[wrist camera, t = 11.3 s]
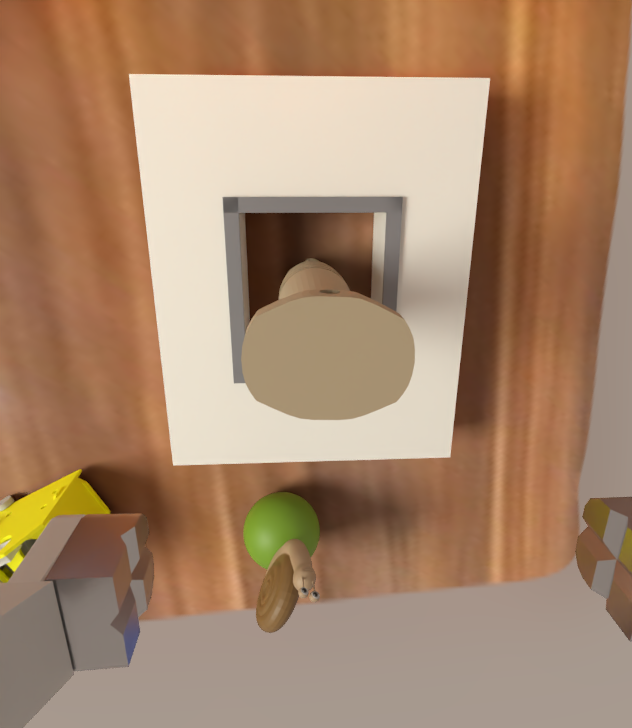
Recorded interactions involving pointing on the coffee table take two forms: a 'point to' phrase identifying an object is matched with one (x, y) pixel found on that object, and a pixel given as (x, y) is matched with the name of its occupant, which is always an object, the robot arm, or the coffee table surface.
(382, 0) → the coffee table surface
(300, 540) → the snail figurine
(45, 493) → the yellow toy chassis
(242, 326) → the socket board
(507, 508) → the coffee table surface
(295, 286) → the handle
